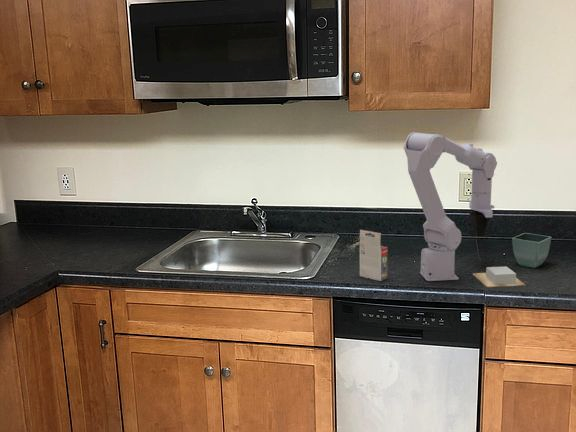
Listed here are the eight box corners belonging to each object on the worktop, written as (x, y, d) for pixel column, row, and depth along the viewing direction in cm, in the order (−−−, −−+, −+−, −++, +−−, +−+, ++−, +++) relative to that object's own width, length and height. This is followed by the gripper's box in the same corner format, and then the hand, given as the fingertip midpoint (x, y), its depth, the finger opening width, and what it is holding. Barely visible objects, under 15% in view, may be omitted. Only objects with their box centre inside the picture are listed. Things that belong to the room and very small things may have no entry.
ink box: (366, 273, 199) (366, 226, 196) (388, 278, 194) (388, 230, 191) (359, 276, 197) (358, 229, 194) (380, 282, 191) (381, 233, 188)
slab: (485, 277, 192) (494, 284, 185) (486, 267, 191) (495, 274, 184) (506, 276, 192) (515, 283, 185) (506, 266, 192) (516, 273, 185)
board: (486, 287, 184) (487, 286, 184) (472, 274, 196) (472, 273, 196) (525, 285, 185) (525, 284, 185) (508, 272, 196) (508, 271, 196)
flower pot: (509, 265, 203) (511, 237, 201) (523, 259, 209) (524, 232, 207) (537, 271, 197) (539, 242, 195) (550, 264, 203) (552, 236, 201)
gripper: (503, 195, 191) (501, 241, 194) (485, 187, 205) (483, 229, 208) (479, 196, 191) (478, 242, 194) (463, 188, 205) (462, 230, 208)
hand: (479, 235), depth 201 cm, fingers closed
